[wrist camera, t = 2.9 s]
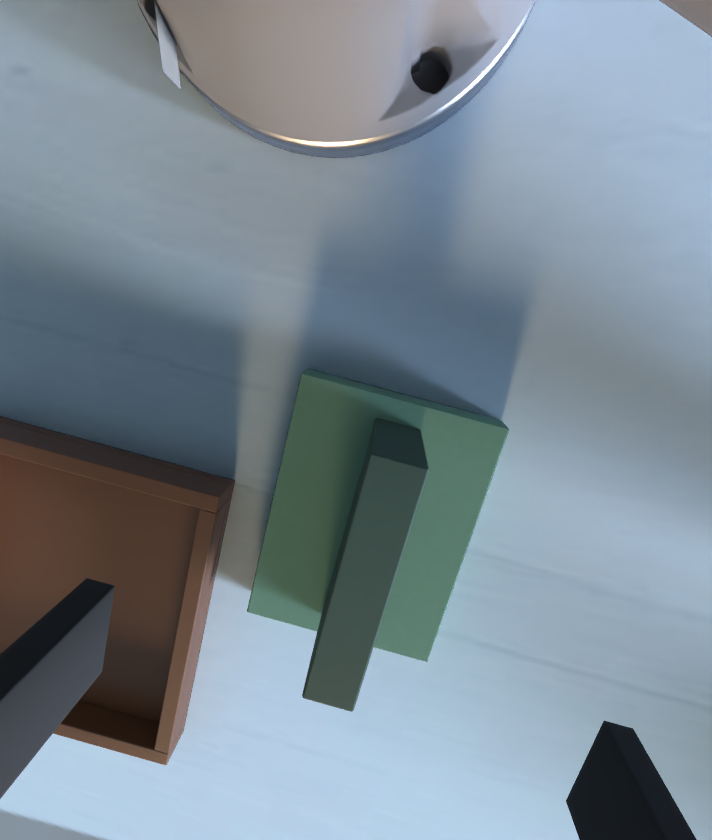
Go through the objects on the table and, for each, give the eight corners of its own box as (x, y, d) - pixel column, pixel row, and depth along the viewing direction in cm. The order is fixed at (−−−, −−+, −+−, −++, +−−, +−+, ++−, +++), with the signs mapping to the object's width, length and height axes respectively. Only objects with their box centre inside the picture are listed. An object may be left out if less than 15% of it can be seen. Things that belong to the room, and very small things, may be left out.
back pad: (307, 368, 21) (271, 394, 15) (501, 420, 21) (546, 468, 15) (255, 594, 24) (206, 694, 18) (425, 641, 24) (436, 759, 18)
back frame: (-14, 412, 23) (-54, 422, 21) (235, 480, 23) (219, 497, 21) (-30, 670, 27) (-65, 700, 25) (183, 731, 27) (166, 766, 25)
